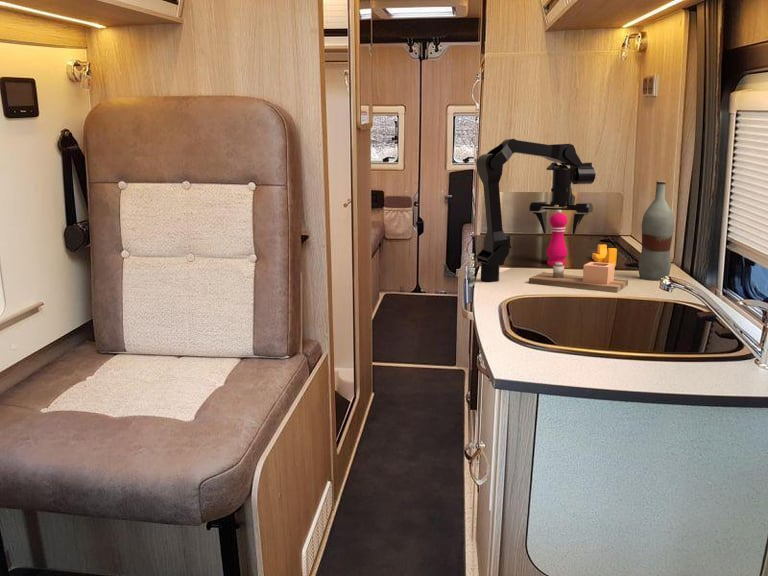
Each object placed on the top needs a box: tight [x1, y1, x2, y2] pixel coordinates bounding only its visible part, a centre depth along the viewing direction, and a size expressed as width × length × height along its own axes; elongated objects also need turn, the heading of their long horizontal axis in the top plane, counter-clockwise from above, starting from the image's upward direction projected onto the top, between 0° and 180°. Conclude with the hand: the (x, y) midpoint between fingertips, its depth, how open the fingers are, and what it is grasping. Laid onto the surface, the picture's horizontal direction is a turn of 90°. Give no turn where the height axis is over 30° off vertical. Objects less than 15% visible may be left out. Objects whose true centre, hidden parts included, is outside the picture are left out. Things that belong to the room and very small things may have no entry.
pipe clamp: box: [591, 243, 618, 267], centre depth 221 cm, size 12×4×6 cm, turn 0°
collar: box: [582, 261, 615, 284], centre depth 183 cm, size 7×7×5 cm
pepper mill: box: [545, 210, 568, 267], centre depth 218 cm, size 7×7×20 cm
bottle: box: [638, 180, 675, 281], centre depth 192 cm, size 9×9×30 cm
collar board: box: [528, 262, 629, 293], centre depth 186 cm, size 12×26×6 cm, turn 56°
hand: (559, 234), depth 198 cm, fingers open, 9 cm apart
